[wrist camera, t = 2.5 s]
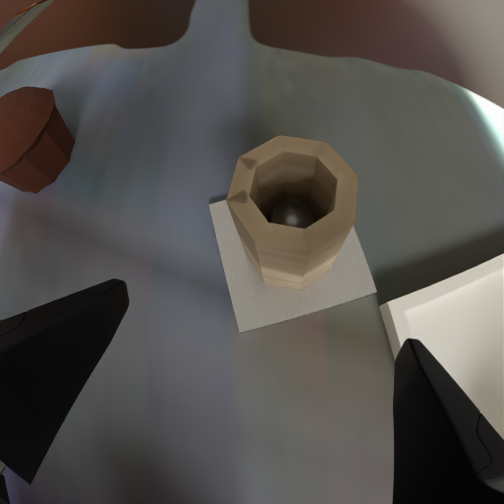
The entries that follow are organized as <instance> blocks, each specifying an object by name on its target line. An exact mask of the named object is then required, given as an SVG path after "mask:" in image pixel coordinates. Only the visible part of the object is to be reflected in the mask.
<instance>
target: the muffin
mask: <svg viewBox="0 0 504 504" xmlns="http://www.w3.org/2000/svg"><path fill="white" fill-rule="evenodd" d="M74 143H75V141H74V139H73V138H72V136H71V134H70V132H69V130H68V128H67V127H66V125H65V123H64V121H63V119H62V117H61V115H60V114H59V112H58V110H57V108H56V106H55V99H54V95H53V91H52V90H49V89H45V88H38V87H23V88H19V89H17V90H14V91H12V92H9V93H7V94H5V95H4V96H2V97H1V98H0V181H2V182H4V183H6V184H8V185H11V186H13V187H15V188H17V189H19V190H21V191H23V192H24V191H30V192H33V193H38V192H39V191H40V190H41V189H43V188H44V187H46V186H48V185H49V184H51V183H53V182H54V181H55V180H56V178H57V177H58V175H59V174H60V172H61V171H62V170H63V168H64V167H65V166H66V165H67V164H68V163H69V161H70V155H71V151H72V148H73V145H74Z"/></svg>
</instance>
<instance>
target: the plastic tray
mask: <svg viewBox="0 0 504 504" xmlns="http://www.w3.org/2000/svg"><path fill="white" fill-rule="evenodd" d="M379 309H380V312H381V315H382V318H383V322H384V325H385V328H386V332H387V335H388V339H389V342H390V346H391V349H392V353H393V357H394V361H395V360H396V357H397V355H398V353H399V351H400V349H401V347H402V345H403V343H404V341H405V340H406V339H407V338H412V339H418V340H420V341H421V342H422V343H423V345H424V346H425V347H426V348H427V349H428V350H429V351H430V352H431V354H432V355H433V356H434V357H435V358H436V359H437V360H438V361H439V363H440V364H441V365H442V366H443V367H444V368H445V370H446V371H447V372H448V373H449V374H450V375H451V377H452V378H453V379H454V380H455V381H456V382H457V384H458V385H459V386H460V387H461V388H462V390H463V391H464V392H465V393H466V394H467V396H468V397H469V398H470V399H471V400H472V402H473V403H474V404H475V405H476V407H477V408H478V409H479V410H480V413H482V414H483V415H484V416H485V418H486V419H487V420H488V421H489V423H490V424H491V425H492V426H493V428H494V429H495V430H496V431H497V432H498V433H499V435H500V436H501V437H502V438H503V439H504V254H502V255H499V256H497V257H495V258H493V259H491V260H489V261H487V262H484V263H482V264H480V265H478V266H476V267H473V268H471V269H469V270H467V271H464V272H462V273H460V274H457V275H455V276H453V277H450V278H448V279H445V280H443V281H441V282H438V283H436V284H433V285H431V286H428V287H426V288H423V289H421V290H418V291H416V292H413V293H410V294H408V295H405V296H402V297H400V298H397V299H394V300H392V301H389V302H386V303H385V304H383V305H381V306H379Z"/></svg>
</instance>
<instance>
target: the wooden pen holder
mask: <svg viewBox="0 0 504 504" xmlns="http://www.w3.org/2000/svg"><path fill="white" fill-rule="evenodd" d="M357 187H358V176H357V175H356V174H355V172H354V171H353V170H352V169H351V168H350V167H349V166H348V165H347V164H346V163H345V161H344V160H343V159H342V158H341V157H340V156H339V155H338V154H337V153H336V152H335V151H334V150H333V149H332V148H331V147H330V146H329V144H328V143H326V142H321V141H315V140H308V139H302V138H295V137H288V136H281V135H279V136H277V137H275V138H273V139H271V140H269V141H267V142H266V143H264V144H262V145H260V146H258V147H256V148H255V149H253V150H251V151H249V152H247V153H246V154H244V155H242V156H240V157H238V161H237V164H236V167H235V171H234V174H233V178H232V181H231V185H230V188H229V192H228V195H227V199H226V202H227V205H228V208H229V210H230V213H231V216H232V219H233V221H234V224H235V227H236V230H237V232H238V235H239V238H240V241H241V243H242V246H243V249H244V251H245V254H246V256H247V257H248V259H249V260H250V262H251V263H252V265H253V266H254V268H255V269H256V271H257V272H258V274H259V275H260V277H261V278H262V280H263V281H264V283H267V284H272V285H277V286H283V287H288V288H293V289H299V290H300V289H302V288H303V287H305V286H306V285H308V284H309V283H311V282H312V281H314V280H315V279H317V278H318V277H320V276H321V275H322V274H324V273H325V272H327V271H328V270H329V269H330V267H331V265H332V264H333V262H334V260H335V258H336V256H337V254H338V253H339V251H340V249H341V247H342V245H343V243H344V241H345V240H346V238H347V236H348V234H349V232H350V230H351V228H352V226H353V224H354V222H355V212H356V200H357ZM289 198H295V199H299V200H302V201H304V202H305V203H306V204H307V205H308V206H309V207H310V208H311V210H312V212H313V224H312V225H311V226H309V227H307V228H306V229H303V228H297V227H291V226H286V225H280V224H274V223H272V221H271V214H272V211H273V209H274V207H275V206H276V205H277V204H278V203H279V202H280V201H282V200H285V199H289Z"/></svg>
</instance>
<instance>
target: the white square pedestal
mask: <svg viewBox="0 0 504 504" xmlns="http://www.w3.org/2000/svg"><path fill="white" fill-rule="evenodd" d="M209 207H210V211H211V216H212V220H213V225H214V229H215V233H216V238H217V242H218V246H219V251H220V255H221V259H222V263H223V267H224V272H225V276H226V280H227V284H228V288H229V292H230V296H231V300H232V304H233V308H234V312H235V316H236V320H237V324H238V328H239V332H240V333H243V332H247V331H251V330H255V329H259V328H262V327H266V326H270V325H274V324H277V323H281V322H284V321H288V320H291V319H295V318H298V317H302V316H305V315H309V314H312V313H315V312H319V311H322V310H325V309H328V308H332V307H335V306H338V305H341V304H344V303H347V302H350V301H354V300H357V299H360V298H363V297H366V296H369V295H372V294H374V293H376V292H377V290H376V287H375V284H374V281H373V278H372V276H371V273H370V270H369V267H368V264H367V261H366V259H365V256H364V253H363V250H362V248H361V245H360V242H359V240H358V237H357V234H356V232H355V229H354V227H353V226H352V228H351V230H350V232H349V234H348V236H347V238H346V240H345V241H344V243H343V245H342V247H341V249H340V251H339V253H338V254H337V256H336V258H335V260H334V262H333V264H332V265H331V267H330V269H329V270H328V271H327V272H325V273H324V274H322V275H321V276H320V277H318V278H317V279H315V280H314V281H312V282H311V283H309V284H308V285H306V286H305V287H303V288H302V289H300V290H299V289H293V288H288V287H283V286H277V285H272V284H267V283H264V281H263V280H262V278H261V277H260V275H259V274H258V272H257V271H256V269H255V268H254V266H253V265H252V263H251V262H250V260H249V259H248V257H247V256H246V254H245V251H244V249H243V246H242V243H241V241H240V238H239V235H238V232H237V230H236V227H235V224H234V221H233V219H232V216H231V213H230V210H229V208H228V205H227V202H226V200H223V201H220V202H216V203H213V204H209ZM271 221H272V223H274V224H280V225H286V226H291V227H297V228H303V229H306V228H307V227H309V226H311V225H312V224H313V212H312V210H311V208H310V207H309V206H308V205H307V204H306V203H305V202H304V201H302V200H299V199H295V198H289V199H285V200H282V201H280V202H279V203H278V204H277V205H276V206H275V207H274V209H273V211H272V214H271Z"/></svg>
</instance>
